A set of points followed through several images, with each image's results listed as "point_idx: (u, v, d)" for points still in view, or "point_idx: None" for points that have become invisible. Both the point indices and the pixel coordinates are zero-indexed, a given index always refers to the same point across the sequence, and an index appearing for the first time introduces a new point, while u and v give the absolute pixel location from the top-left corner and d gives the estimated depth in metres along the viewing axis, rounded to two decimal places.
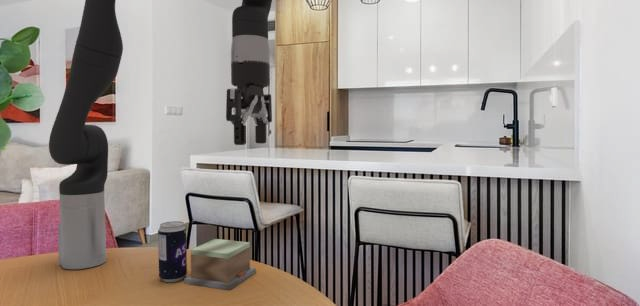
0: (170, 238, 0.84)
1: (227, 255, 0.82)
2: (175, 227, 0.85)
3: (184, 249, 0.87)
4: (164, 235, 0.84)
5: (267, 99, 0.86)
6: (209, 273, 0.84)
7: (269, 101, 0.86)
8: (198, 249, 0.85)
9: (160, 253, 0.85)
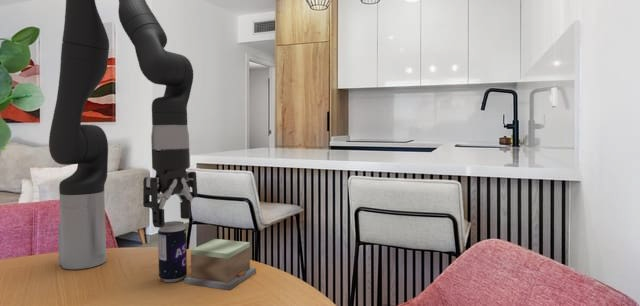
0: (170, 238, 0.84)
1: (227, 255, 0.82)
2: (175, 227, 0.85)
3: (184, 249, 0.87)
4: (164, 235, 0.84)
5: (192, 176, 0.92)
6: (209, 273, 0.84)
7: (193, 178, 0.92)
8: (198, 249, 0.85)
9: (160, 253, 0.85)
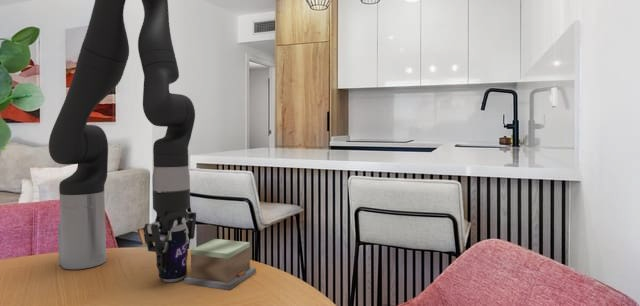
0: None
1: (227, 255, 0.82)
2: (175, 227, 0.85)
3: (184, 249, 0.87)
4: (164, 235, 0.84)
5: (191, 217, 0.92)
6: (209, 273, 0.84)
7: (193, 219, 0.92)
8: (198, 249, 0.85)
9: None
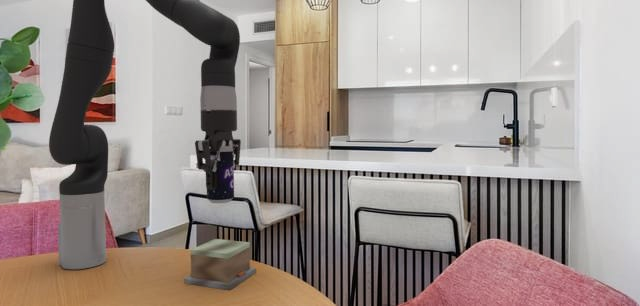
0: None
1: (227, 255, 0.82)
2: (224, 147, 0.85)
3: (232, 171, 0.86)
4: (213, 155, 0.84)
5: (236, 143, 0.92)
6: (209, 273, 0.84)
7: (238, 145, 0.92)
8: (198, 249, 0.85)
9: None
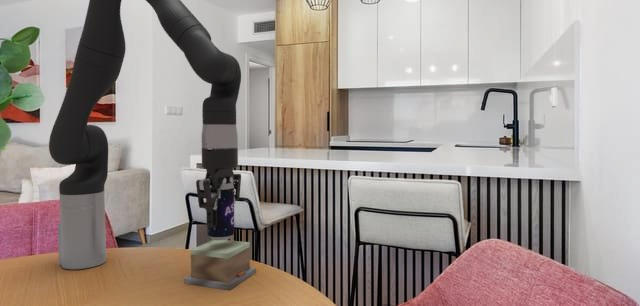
0: None
1: (227, 255, 0.82)
2: (224, 185, 0.85)
3: (232, 208, 0.87)
4: (213, 193, 0.85)
5: (237, 178, 0.92)
6: (209, 273, 0.84)
7: (238, 180, 0.92)
8: (198, 249, 0.85)
9: None
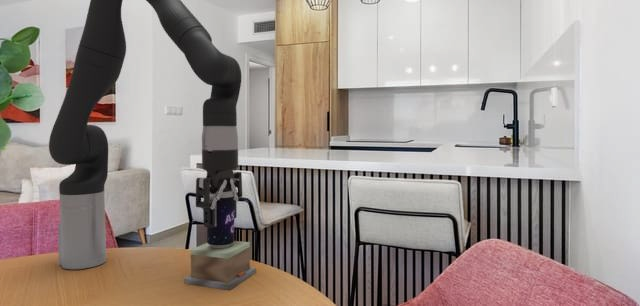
0: (221, 204, 0.85)
1: (227, 255, 0.82)
2: (225, 193, 0.85)
3: (233, 216, 0.87)
4: None
5: (237, 177, 0.92)
6: (209, 273, 0.84)
7: (239, 178, 0.93)
8: (198, 249, 0.85)
9: None
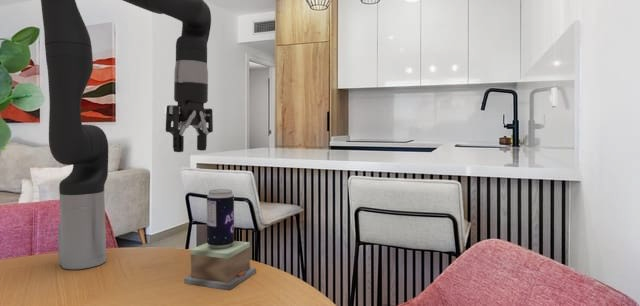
0: (220, 204, 0.85)
1: (227, 255, 0.82)
2: (225, 193, 0.85)
3: (232, 216, 0.87)
4: (214, 201, 0.85)
5: (208, 113, 1.01)
6: (209, 273, 0.84)
7: (210, 114, 1.01)
8: (198, 249, 0.85)
9: (209, 219, 0.85)
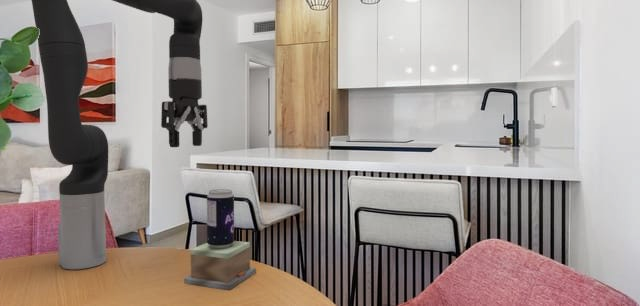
0: (220, 204, 0.85)
1: (227, 255, 0.82)
2: (225, 193, 0.85)
3: (232, 216, 0.87)
4: (214, 201, 0.85)
5: (203, 109, 1.03)
6: (209, 273, 0.84)
7: (204, 110, 1.03)
8: (198, 249, 0.85)
9: (209, 219, 0.85)
